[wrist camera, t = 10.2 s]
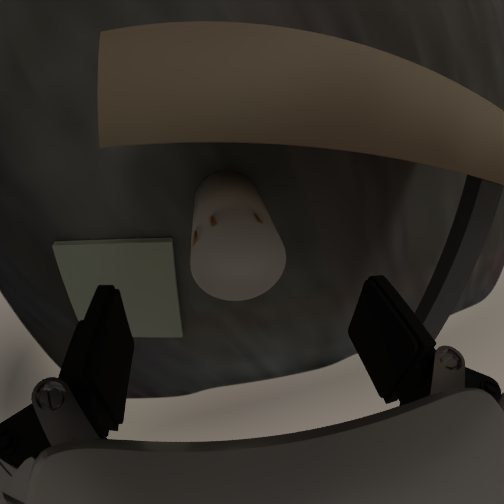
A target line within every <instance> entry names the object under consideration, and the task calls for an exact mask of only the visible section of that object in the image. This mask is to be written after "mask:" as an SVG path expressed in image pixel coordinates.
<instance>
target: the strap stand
mask: <svg viewBox="0 0 504 504" xmlns="http://www.w3.org/2000/svg"><path fill="white" fill-rule="evenodd" d="M98 132H99V148H107V147H118V146H129V145H142V144H159V143H185V142H238V143H264V144H282V145H295V146H307V147H318V148H327V149H336V150H344V151H352V152H359V153H366V154H372V155H379V156H385V157H390V158H396V159H401V160H407V161H412V162H417V163H421V164H426V165H431V166H435V167H439V168H444V169H448V170H452V171H456V172H460V173H464V174H467V175H471V176H475V177H478V178H482V179H485V180H488V181H492V182H495V183H498V184H501V185H504V111H503V110H501V109H500V108H498V107H497V106H495V105H494V104H492V103H491V102H489V101H488V100H486V99H484V98H483V97H481V96H479V95H478V94H476V93H474V92H472V91H471V90H469V89H467V88H465V87H463V86H462V85H460V84H458V83H456V82H454V81H452V80H450V79H448V78H446V77H444V76H442V75H440V74H438V73H436V72H434V71H432V70H429V69H427V68H425V67H423V66H420V65H418V64H416V63H413V62H411V61H408V60H406V59H403V58H400V57H398V56H395V55H392V54H390V53H387V52H384V51H381V50H378V49H375V48H372V47H369V46H365V45H362V44H359V43H355V42H352V41H348V40H344V39H340V38H336V37H332V36H328V35H324V34H319V33H314V32H309V31H304V30H298V29H292V28H286V27H278V26H271V25H262V24H251V23H238V22H206V21H203V22H172V23H158V24H148V25H139V26H131V27H125V28H118V29H112V30H107V31H102V32H100V43H99V58H98Z"/></svg>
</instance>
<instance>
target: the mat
mask: <svg viewBox="0 0 504 504" xmlns="http://www.w3.org/2000/svg"><path fill="white" fill-rule="evenodd" d="M52 247H53V251H54V254H55V257H56V261H57V264H58V267H59V270H60V273H61V276H62V279H63V282H64V285H65V288H66V291H67V293H68V296H69V299H70V301H71V304H72V306H73V309H74V311H75V314H76V316H77V319H78V321H80V320H84V317H85V315H86V312H87V310H88V307H89V305H90V303H91V300H92V298H93V296H94V293H95V291H96V289H97V287H98V285H114V287H115V289H119V290H120V293H121V297H122V301H123V305H124V309H125V313H126V316H127V320H128V324H129V327H130V330H131V334H132V337H183V329H182V321H181V314H180V306H179V297H178V289H177V279H176V269H175V259H174V247H173V238H137V239H106V240H79V241H55V243H54V244H53V245H52Z"/></svg>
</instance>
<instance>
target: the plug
mask: <svg viewBox="0 0 504 504" xmlns="http://www.w3.org/2000/svg"><path fill="white" fill-rule="evenodd" d="M285 264H286V252H285V247H284V245H283V243H282V240H281V238H280V236H279V234H278V232H277V230H276V228H275V226H274V224H273V222H272V220H271V217H270V215H269V213H268V211H267V209H266V207H265V205H264V203H263V201H262V199H261V197H260V195H259V193H258V191H257V189H256V187H255V185H254V183H253V182H252V181H251V180H250V179H249V178H248V177H247V176H245V175H244V174H242V173H240V172H237V171H231V170H223V171H218V172H215V173H213V174H211V175H209V176H208V177H206V178H205V179H204V180H203V181H202V182H201V183H200V185H199V186H198V188H197V191H196V193H195V199H194V211H193V224H192V239H191V255H190V268H191V273H192V276H193V278H194V280H195V282H196V283H197V285H198V286H199V287H200V288H201V289H202V290H204V291H205V292H206V293H208V294H209V295H211V296H213V297H216V298H219V299H222V300H228V301H242V300H247V299H251V298H254V297H257V296H259V295H261V294H263V293H265V292H266V291H268V290H269V289H270V288H271V287H273V286H274V285H275V283H276V282H277V281H278V280H279V278H280V277H281V275H282V273H283V271H284V268H285Z"/></svg>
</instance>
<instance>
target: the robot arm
mask: <svg viewBox="0 0 504 504" xmlns="http://www.w3.org/2000/svg"><path fill="white" fill-rule="evenodd" d="M348 334H349V337H350V339H351V341H352V343H353V345H354V347H355V349H356V350H357V352H358V354H359V356H360V358H361V360H362V362H363V364H364V366H365V368H366V370H367V372H368V374H369V376H370V378H371V380H372V382H373V384H374V386H375V388H376V390H377V392H378V394H379V396H380V397H381V398H384V400H385V403H386V404H387V403H391V402H394V401H397V400H398V399H399V401H400V406H398V407H395V408H392V409H389V410H386V411H383V412H380V413H376V414H373V415H370V416H366V417H363V418H359V419H355V420H351V421H347V422H344V423H340V424H335V425H331V426H326V427H322V428H317V429H312V430H307V431H301V432H296V433H289V434H283V435H276V436H268V437H260V438H251V439H242V440H228V441H210V442H149V441H133V440H112V439H107V438H106V437H107V436H108V432H109V430H113V431H118V426H119V424H122V423H123V420H124V412H125V403H126V396H127V389H128V382H129V375H130V369H131V363H132V357H133V351H134V341H133V337H132V334H131V330H130V327H129V324H128V320H127V316H126V313H125V309H124V305H123V301H122V297H121V293H120V290H119V289H115V287H114V285H98V287H97V289H96V291H95V293H94V296H93V298H92V300H91V303H90V305H89V307H88V310H87V312H86V315H85V317H84V320H80V321H79V323H78V324H77V327H76V329H75V332H74V334H73V337H72V340H71V342H70V345H69V348H68V351H67V353H66V356H65V359H64V362H63V365H62V368H61V371H60V374H59V377H58V378H55V377H50V378H46V379H43V380H42V381H40V382H39V383H38V384H37V385H36V386H35V388H34V390H33V392H32V398H31V400H32V404H30V405H29V406H27V407H26V408H24V409H23V410H21V411H19V412H18V413H16V414H15V415H13V416H11V417H10V418H8V419H7V420H5V421H3V422H2V423H0V504H504V393H502V395H501V389H500V387H499V385H498V383H497V382H496V381H495V380H494V379H492V378H491V377H489V376H486V375H484V374H481V373H479V372H476V371H474V370H471V369H469V368H466V367H465V361H464V358H463V356H462V355H461V353H460V352H459V351H457V350H456V349H455V348H453V347H450V346H441V347H439V348H438V349H437V350H435V348H434V346H435V345H436V342H435V340H434V339H433V338H432V336H431V335H430V334H429V332H428V331H427V329H426V328H425V327H424V325H423V324H422V323H421V322H420V320H419V319H418V318H417V316H416V315H415V314H414V312H413V311H412V310H411V309H410V307H409V306H408V305H407V303H406V302H405V301H404V300H403V298H402V297H401V296H400V295H399V293H398V292H397V291H396V290H395V288H394V287H393V286H392V285H391V284H390V282H389V281H388V280H387V279H386V278H385V277H384V276H382V275H379V276H370V277H369V278H368V280H366V281H365V283H364V285H363V288H362V291H361V294H360V297H359V300H358V303H357V306H356V309H355V312H354V315H353V317H352V320H351V323H350V325H349V328H348Z"/></svg>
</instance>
